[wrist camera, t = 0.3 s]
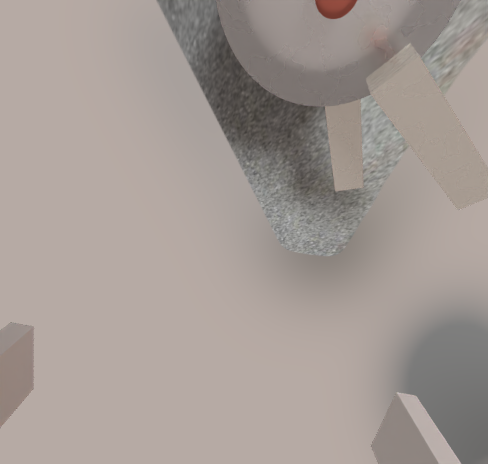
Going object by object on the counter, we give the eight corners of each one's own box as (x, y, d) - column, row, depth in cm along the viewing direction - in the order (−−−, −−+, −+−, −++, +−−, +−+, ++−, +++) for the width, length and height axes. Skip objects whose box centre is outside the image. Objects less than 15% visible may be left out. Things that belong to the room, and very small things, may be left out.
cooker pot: (230, -120, 24) (191, -130, 17) (421, -220, 20) (495, -300, 12) (291, 149, 42) (286, 206, 34) (399, 128, 38) (423, 188, 30)
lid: (175, -14, 20) (155, -1, 18) (383, -391, 11) (406, -483, 8) (385, 209, 32) (392, 237, 29) (572, 119, 23) (606, 148, 20)
